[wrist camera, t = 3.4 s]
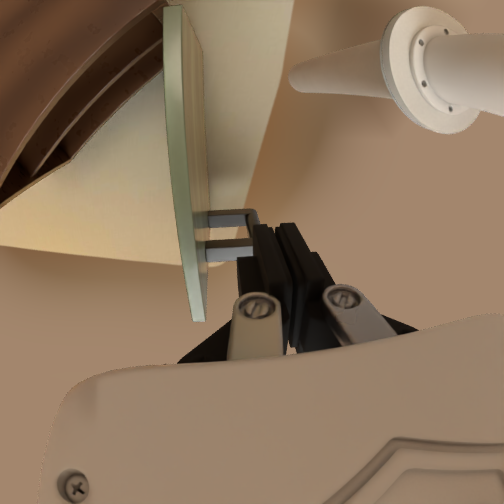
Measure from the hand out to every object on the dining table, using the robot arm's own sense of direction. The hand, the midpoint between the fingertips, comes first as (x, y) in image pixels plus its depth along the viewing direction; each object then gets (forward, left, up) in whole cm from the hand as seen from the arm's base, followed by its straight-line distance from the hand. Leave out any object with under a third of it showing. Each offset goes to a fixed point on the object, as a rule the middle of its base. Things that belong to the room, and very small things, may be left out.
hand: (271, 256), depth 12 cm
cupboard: (+7, -20, -23) cm, 31 cm away
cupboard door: (0, -2, -23) cm, 23 cm away
